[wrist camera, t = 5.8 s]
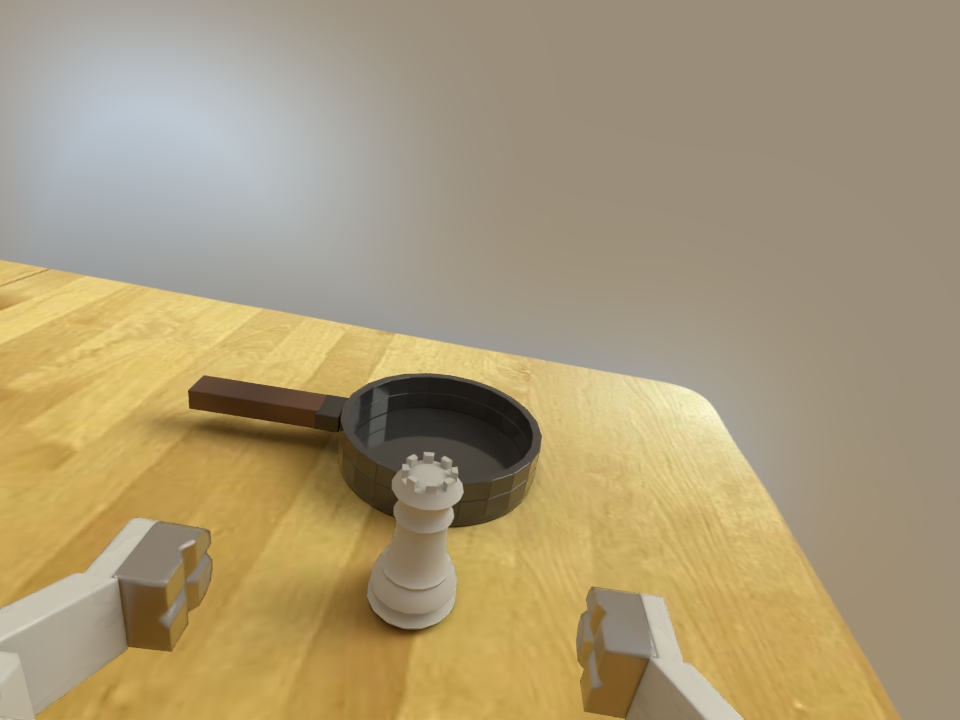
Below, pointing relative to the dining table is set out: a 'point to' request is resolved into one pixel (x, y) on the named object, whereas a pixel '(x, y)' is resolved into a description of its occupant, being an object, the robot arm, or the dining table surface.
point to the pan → (440, 441)
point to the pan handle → (267, 403)
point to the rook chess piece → (418, 547)
